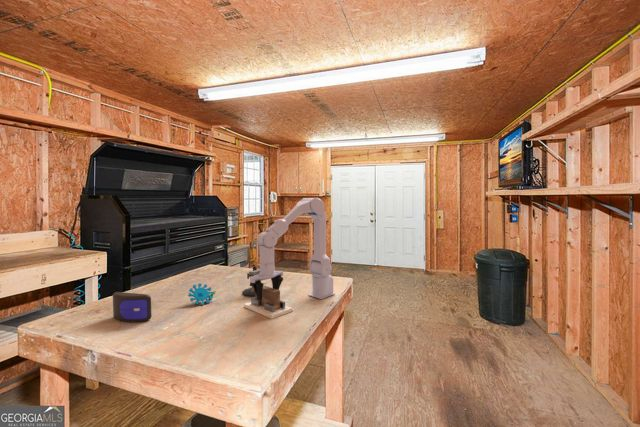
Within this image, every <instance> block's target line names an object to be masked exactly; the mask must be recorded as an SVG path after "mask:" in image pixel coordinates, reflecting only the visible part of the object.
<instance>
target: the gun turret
mask: <svg viewBox="0 0 640 427" xmlns="http://www.w3.org/2000/svg"><path fill="white" fill-rule="evenodd" d="M258 274H260V265H259V266H258V268H257V266H256V265H253V266H252V270H251V271H249V272H247V274H246V275H247V276H246V278H247V280H250V277H253V276H255V275H258ZM260 282H261V283H262V281H260ZM249 286H250V287H248V288H245V289H243V291H241V292H242V293H241V294H242V295H243V296H244V297H249V298H252V297H254V298H256V293H255V290H254V288H253V286H252V285H251V282H250V281H249Z"/></svg>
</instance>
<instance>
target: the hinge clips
mask: <svg viewBox="0 0 640 427" xmlns="http://www.w3.org/2000/svg"><path fill="white" fill-rule="evenodd" d="M250 302H251V304H253V305H255V306H258V307H259V306H260V300H257V299H256V297H250ZM285 305H286V301H284V300H281V299H280V308H282V309H284V308H285ZM264 309H265V310H268V311H270V312H275V305H272V304H270V303H267V302H266V303H264Z"/></svg>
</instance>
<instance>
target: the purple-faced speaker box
mask: <svg viewBox="0 0 640 427" xmlns="http://www.w3.org/2000/svg"><path fill="white" fill-rule="evenodd" d="M112 312H113V313H112V314H113V315H112V316H113V319H115V320H116V321H118V322H123V323H143V321H144V322H148V321H150V320H151V319H152V317H153V316H152V297H151V296H150V295H149V294H146V293H145V294H144V293H135V292H123V291H115V292H114V293H113V294H112Z"/></svg>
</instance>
